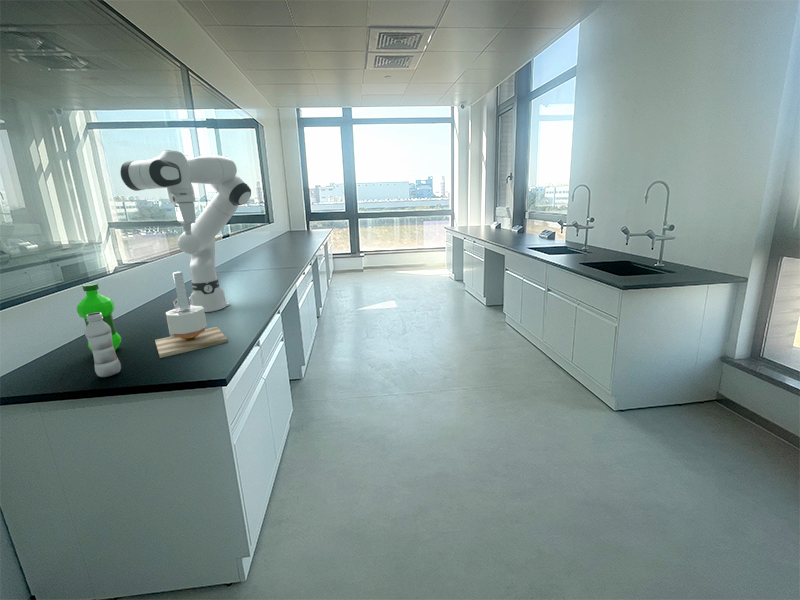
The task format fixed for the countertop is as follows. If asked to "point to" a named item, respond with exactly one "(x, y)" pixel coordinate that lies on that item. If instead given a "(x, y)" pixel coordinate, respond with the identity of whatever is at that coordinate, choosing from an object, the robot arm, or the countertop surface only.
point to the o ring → (190, 333)
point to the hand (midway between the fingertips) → (188, 235)
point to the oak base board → (189, 342)
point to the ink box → (175, 305)
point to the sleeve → (186, 320)
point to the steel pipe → (182, 297)
